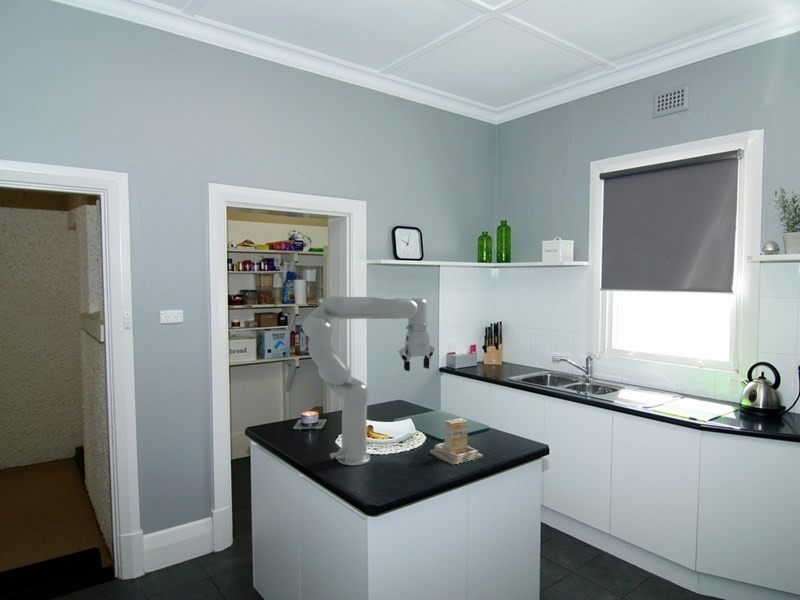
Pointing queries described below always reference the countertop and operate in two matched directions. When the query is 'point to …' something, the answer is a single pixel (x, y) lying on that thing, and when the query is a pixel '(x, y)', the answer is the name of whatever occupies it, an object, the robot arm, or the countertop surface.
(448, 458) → the board
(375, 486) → the countertop surface
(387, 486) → the countertop surface
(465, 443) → the supplement box
